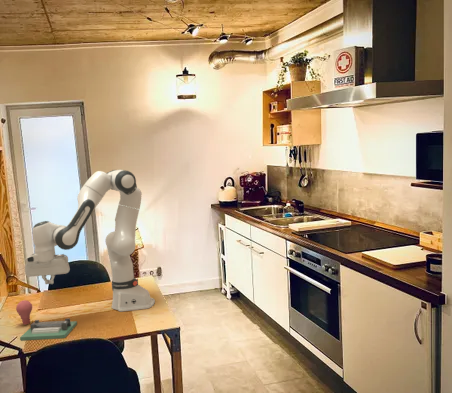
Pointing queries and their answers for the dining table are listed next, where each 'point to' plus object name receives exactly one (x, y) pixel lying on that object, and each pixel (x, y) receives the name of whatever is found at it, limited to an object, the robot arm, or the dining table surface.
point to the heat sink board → (49, 331)
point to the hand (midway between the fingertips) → (49, 283)
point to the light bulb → (24, 311)
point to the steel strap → (49, 323)
